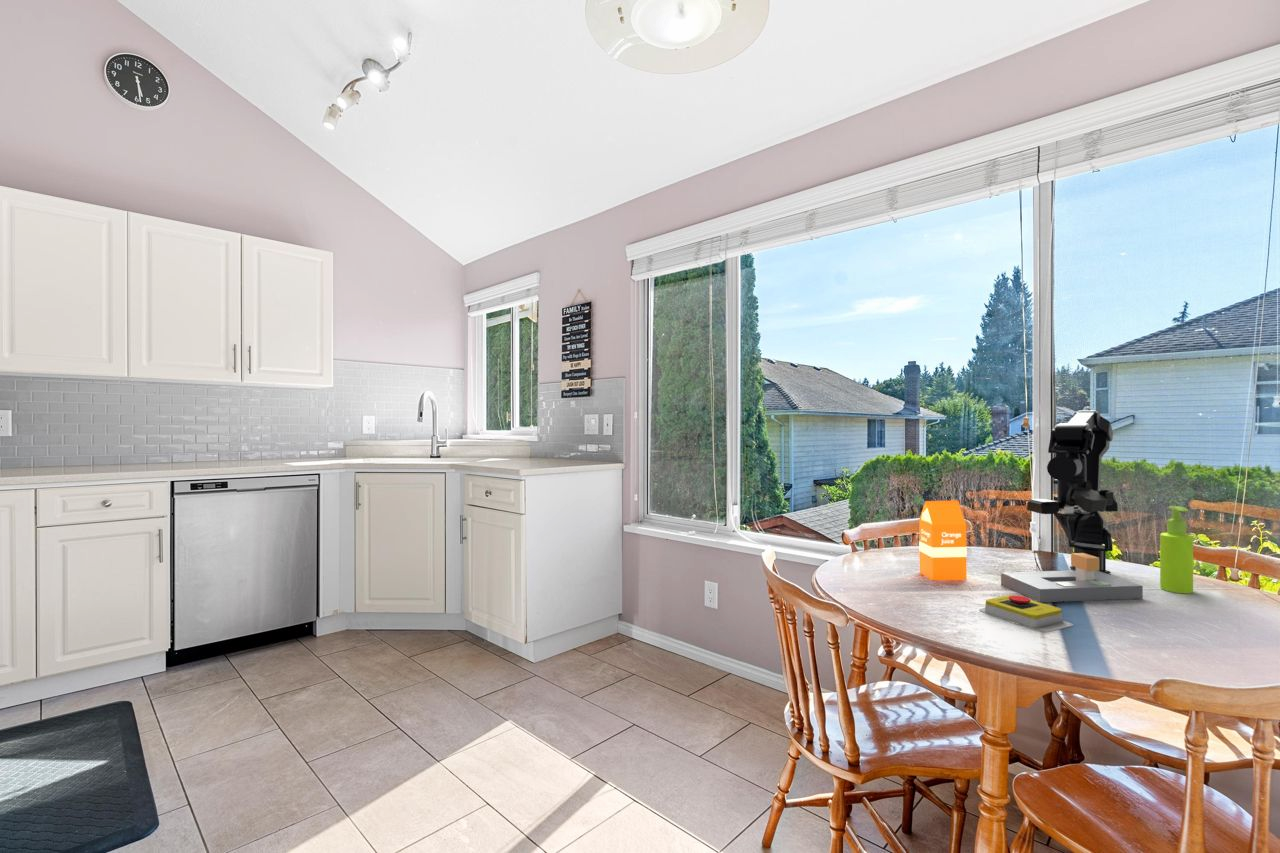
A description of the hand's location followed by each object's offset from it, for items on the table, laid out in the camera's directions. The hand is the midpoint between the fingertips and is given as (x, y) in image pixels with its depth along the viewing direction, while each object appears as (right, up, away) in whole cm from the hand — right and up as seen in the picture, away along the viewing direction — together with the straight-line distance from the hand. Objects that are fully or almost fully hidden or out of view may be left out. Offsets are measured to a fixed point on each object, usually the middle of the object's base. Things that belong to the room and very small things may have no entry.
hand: (1072, 540), depth 147 cm
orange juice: (-25, -12, +14) cm, 31 cm away
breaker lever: (+2, -10, -2) cm, 11 cm away
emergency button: (-23, -14, -18) cm, 33 cm away
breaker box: (-2, -12, -2) cm, 12 cm away
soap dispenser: (+23, -12, -3) cm, 26 cm away
